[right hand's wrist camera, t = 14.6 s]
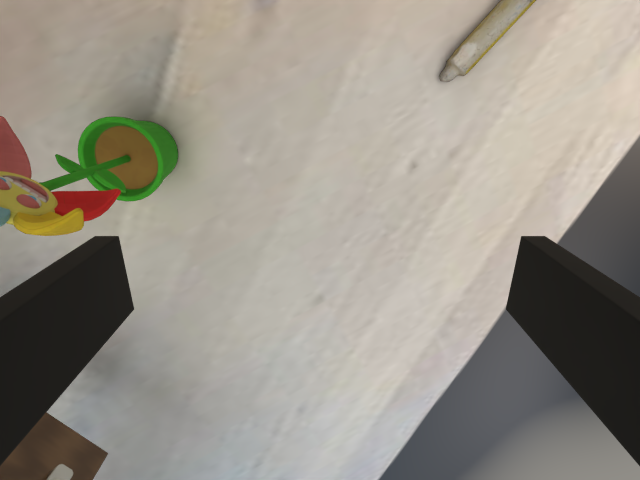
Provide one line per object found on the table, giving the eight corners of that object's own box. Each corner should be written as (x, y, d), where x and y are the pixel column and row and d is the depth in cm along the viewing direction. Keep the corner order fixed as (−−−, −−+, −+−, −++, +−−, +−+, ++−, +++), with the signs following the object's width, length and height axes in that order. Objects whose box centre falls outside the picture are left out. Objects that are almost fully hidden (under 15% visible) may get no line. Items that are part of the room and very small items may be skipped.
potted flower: (203, 146, 41) (50, 219, 18) (168, 201, 43) (-9, 330, 20) (124, 89, 39) (-169, 87, 15) (92, 151, 41) (-206, 229, 18)
